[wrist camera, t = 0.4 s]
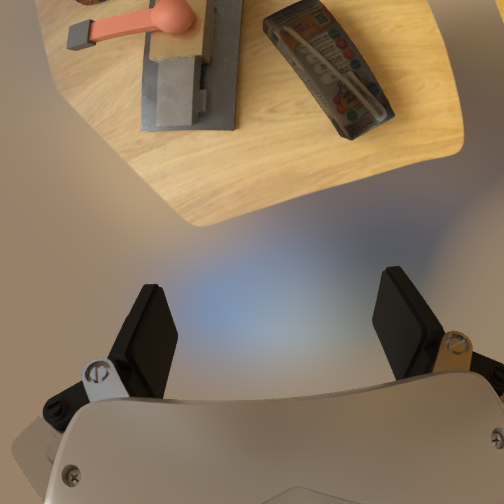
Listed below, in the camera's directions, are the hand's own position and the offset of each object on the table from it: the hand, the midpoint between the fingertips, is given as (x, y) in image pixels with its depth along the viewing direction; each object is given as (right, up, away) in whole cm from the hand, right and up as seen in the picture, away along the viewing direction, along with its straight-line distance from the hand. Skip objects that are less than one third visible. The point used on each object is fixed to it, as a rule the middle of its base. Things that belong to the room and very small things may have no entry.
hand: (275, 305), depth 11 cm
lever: (-15, +27, +9) cm, 32 cm away
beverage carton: (+9, +27, +20) cm, 35 cm away
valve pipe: (-9, +31, +17) cm, 37 cm away
